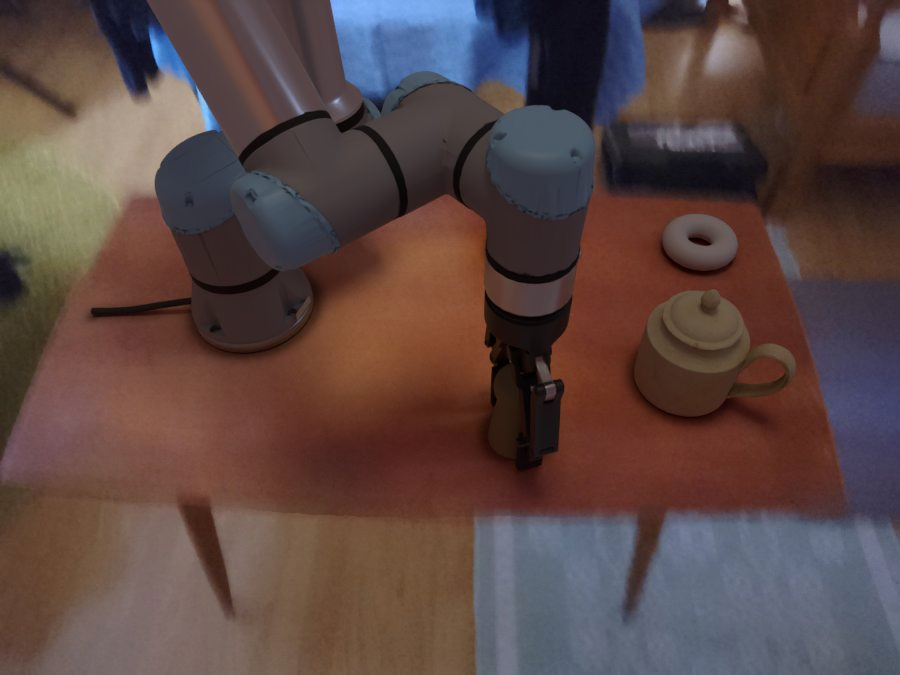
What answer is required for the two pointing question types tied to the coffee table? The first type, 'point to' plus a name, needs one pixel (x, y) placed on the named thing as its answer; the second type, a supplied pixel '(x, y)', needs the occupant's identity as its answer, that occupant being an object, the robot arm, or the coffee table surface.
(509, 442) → the brown pawn
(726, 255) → the donut
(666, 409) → the sugar bowl
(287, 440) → the coffee table surface
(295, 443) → the coffee table surface
